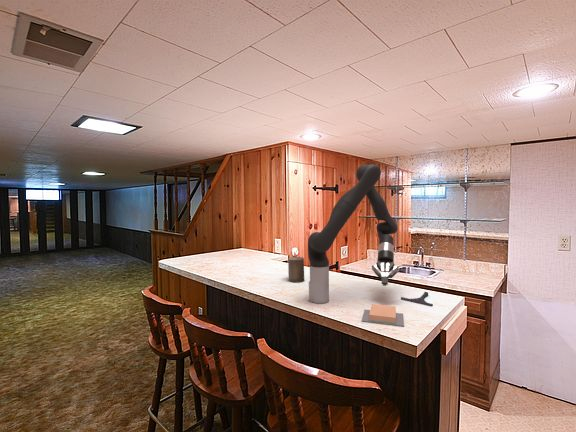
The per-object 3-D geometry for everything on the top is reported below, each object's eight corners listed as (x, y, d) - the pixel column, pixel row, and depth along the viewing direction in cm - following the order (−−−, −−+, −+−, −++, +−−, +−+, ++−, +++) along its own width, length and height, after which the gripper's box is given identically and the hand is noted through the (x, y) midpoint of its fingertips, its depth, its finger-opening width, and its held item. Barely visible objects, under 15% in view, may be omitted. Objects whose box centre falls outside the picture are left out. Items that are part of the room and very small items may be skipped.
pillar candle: (307, 281, 181) (306, 256, 180) (292, 283, 177) (292, 258, 176) (299, 277, 190) (299, 254, 189) (285, 279, 185) (285, 255, 185)
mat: (361, 321, 121) (361, 320, 121) (364, 310, 133) (364, 309, 133) (404, 326, 116) (404, 325, 116) (403, 314, 128) (403, 313, 128)
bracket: (442, 299, 148) (442, 294, 147) (431, 308, 137) (431, 301, 137) (412, 293, 157) (412, 288, 157) (400, 301, 147) (400, 295, 147)
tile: (371, 309, 133) (369, 320, 121) (371, 304, 133) (369, 314, 121) (395, 312, 130) (395, 324, 117) (395, 306, 129) (395, 317, 117)
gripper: (371, 248, 149) (369, 279, 138) (400, 249, 144) (399, 281, 133) (372, 257, 154) (370, 287, 143) (399, 258, 150) (399, 290, 139)
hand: (384, 284), depth 138 cm, fingers closed
